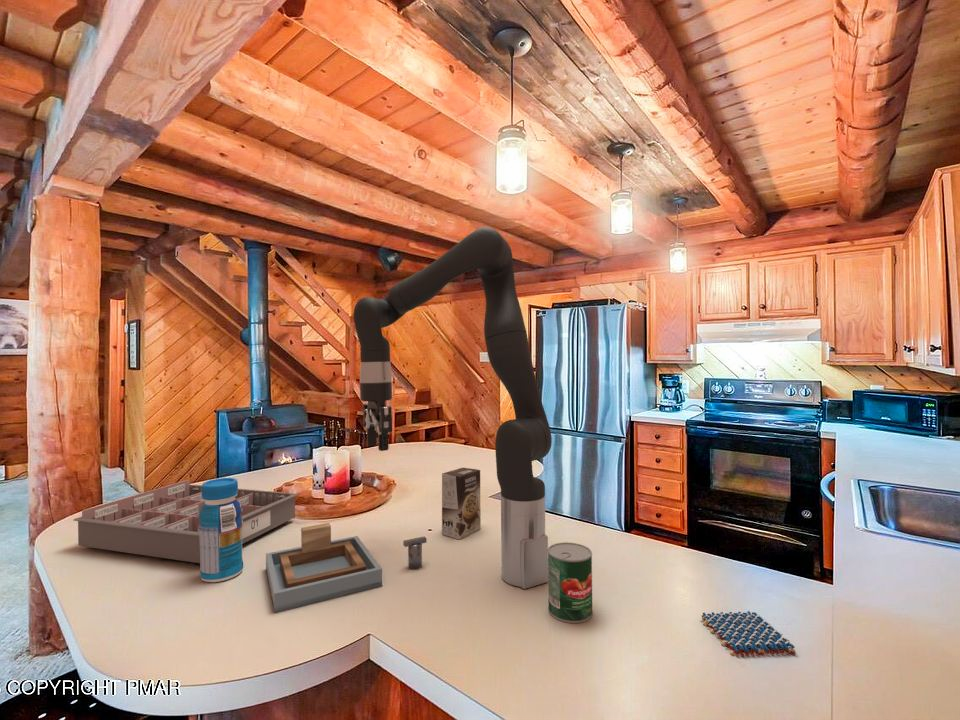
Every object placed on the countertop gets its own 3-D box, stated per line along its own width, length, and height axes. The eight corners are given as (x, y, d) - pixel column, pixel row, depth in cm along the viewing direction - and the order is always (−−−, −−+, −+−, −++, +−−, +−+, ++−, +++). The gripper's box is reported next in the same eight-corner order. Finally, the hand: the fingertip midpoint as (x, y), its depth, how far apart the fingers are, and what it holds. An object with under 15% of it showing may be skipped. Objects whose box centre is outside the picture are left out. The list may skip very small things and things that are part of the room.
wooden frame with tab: (366, 578, 95) (366, 541, 95) (288, 597, 88) (287, 557, 88) (349, 551, 108) (348, 519, 108) (279, 565, 101) (279, 531, 101)
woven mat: (755, 620, 82) (755, 608, 82) (799, 659, 71) (799, 646, 71) (697, 621, 81) (697, 610, 81) (732, 661, 71) (732, 648, 71)
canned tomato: (561, 595, 90) (561, 538, 90) (600, 609, 85) (599, 549, 85) (539, 613, 83) (539, 552, 83) (579, 629, 78) (579, 564, 78)
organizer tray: (203, 572, 101) (202, 526, 101) (72, 552, 112) (72, 511, 112) (299, 521, 132) (298, 486, 132) (189, 510, 143) (188, 477, 143)
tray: (382, 586, 94) (381, 568, 94) (274, 613, 84) (274, 593, 84) (357, 550, 111) (357, 535, 111) (266, 569, 102) (265, 553, 102)
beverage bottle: (192, 586, 95) (189, 488, 94) (208, 567, 103) (205, 477, 102) (237, 581, 96) (234, 485, 96) (249, 563, 105) (247, 475, 104)
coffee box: (460, 540, 117) (459, 476, 117) (441, 534, 121) (440, 472, 121) (481, 529, 124) (481, 469, 124) (463, 524, 128) (462, 466, 128)
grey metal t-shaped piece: (428, 566, 102) (428, 539, 102) (406, 571, 100) (406, 544, 100) (423, 561, 105) (423, 534, 105) (402, 566, 103) (401, 539, 103)
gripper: (401, 380, 108) (403, 450, 108) (381, 379, 120) (382, 442, 120) (369, 382, 104) (371, 454, 104) (352, 381, 116) (353, 445, 116)
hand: (377, 447), depth 112 cm, fingers open, 8 cm apart
